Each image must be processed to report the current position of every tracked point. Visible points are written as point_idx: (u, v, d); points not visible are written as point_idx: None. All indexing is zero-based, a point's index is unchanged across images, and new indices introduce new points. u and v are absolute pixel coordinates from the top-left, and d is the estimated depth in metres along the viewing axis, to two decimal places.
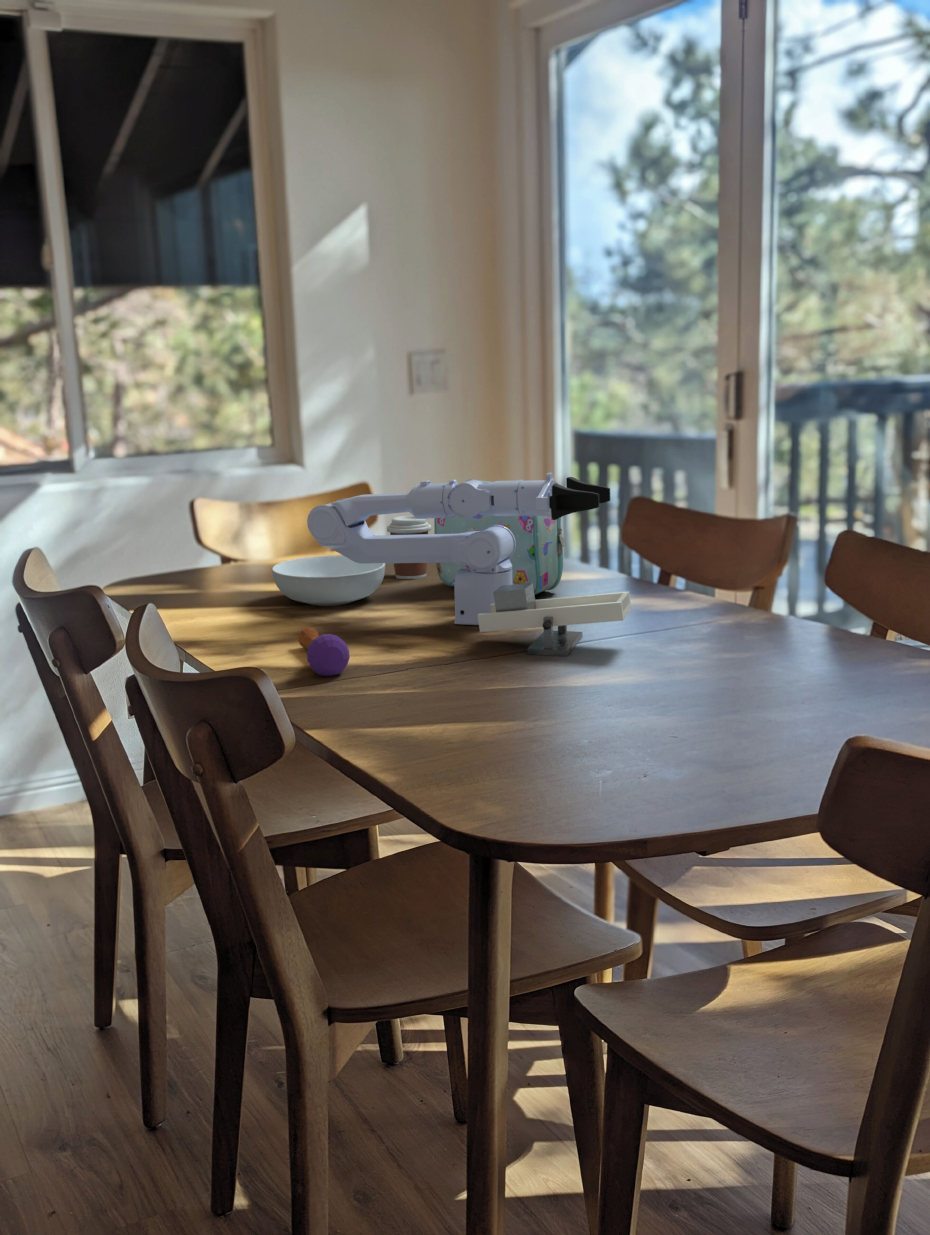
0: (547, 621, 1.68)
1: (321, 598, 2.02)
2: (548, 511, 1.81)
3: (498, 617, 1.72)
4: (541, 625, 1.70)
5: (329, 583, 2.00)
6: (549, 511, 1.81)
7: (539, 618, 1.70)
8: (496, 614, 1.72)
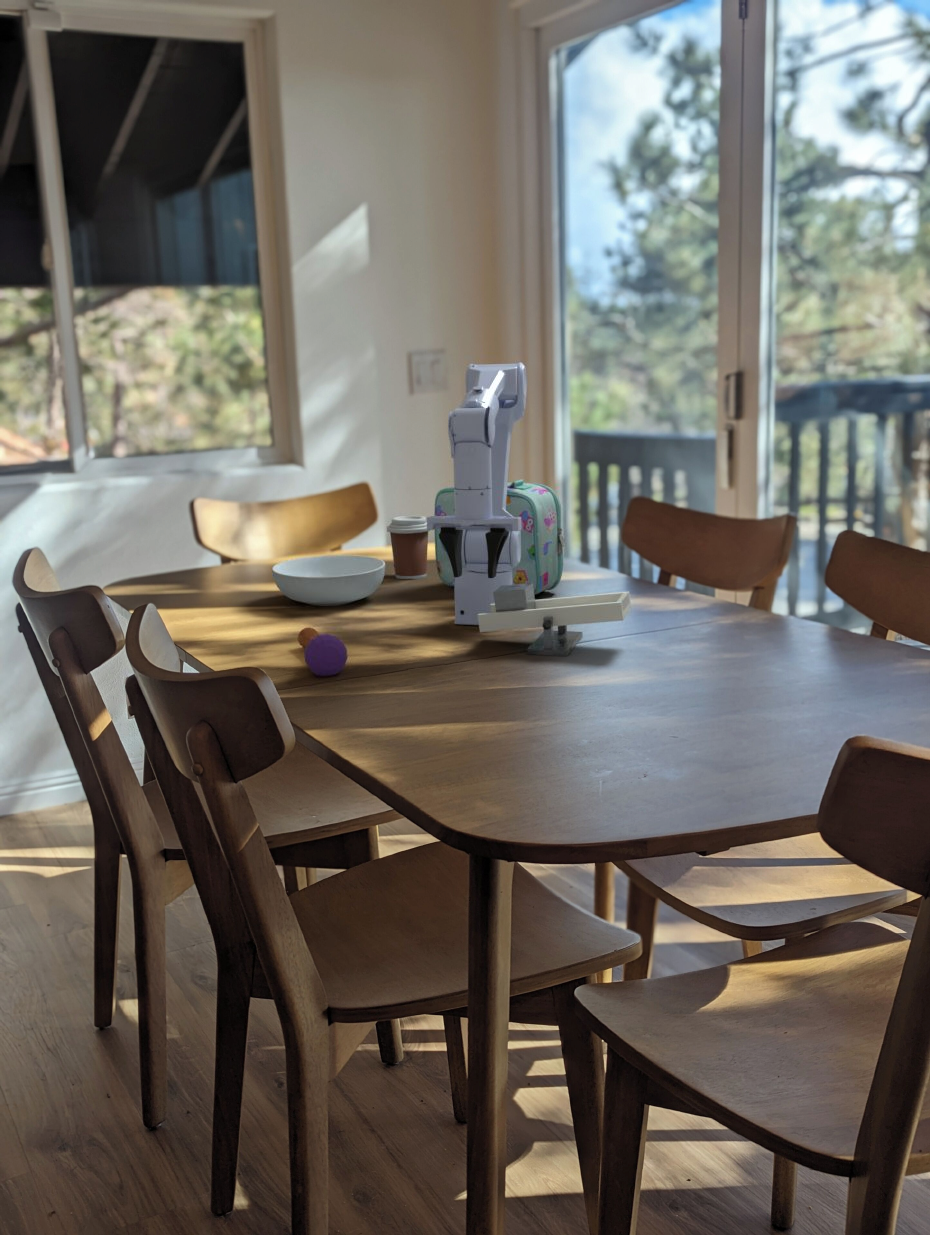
0: (547, 621, 1.68)
1: (321, 598, 2.02)
2: None
3: (498, 617, 1.72)
4: (541, 625, 1.70)
5: (329, 583, 2.00)
6: None
7: (539, 618, 1.70)
8: (496, 614, 1.72)
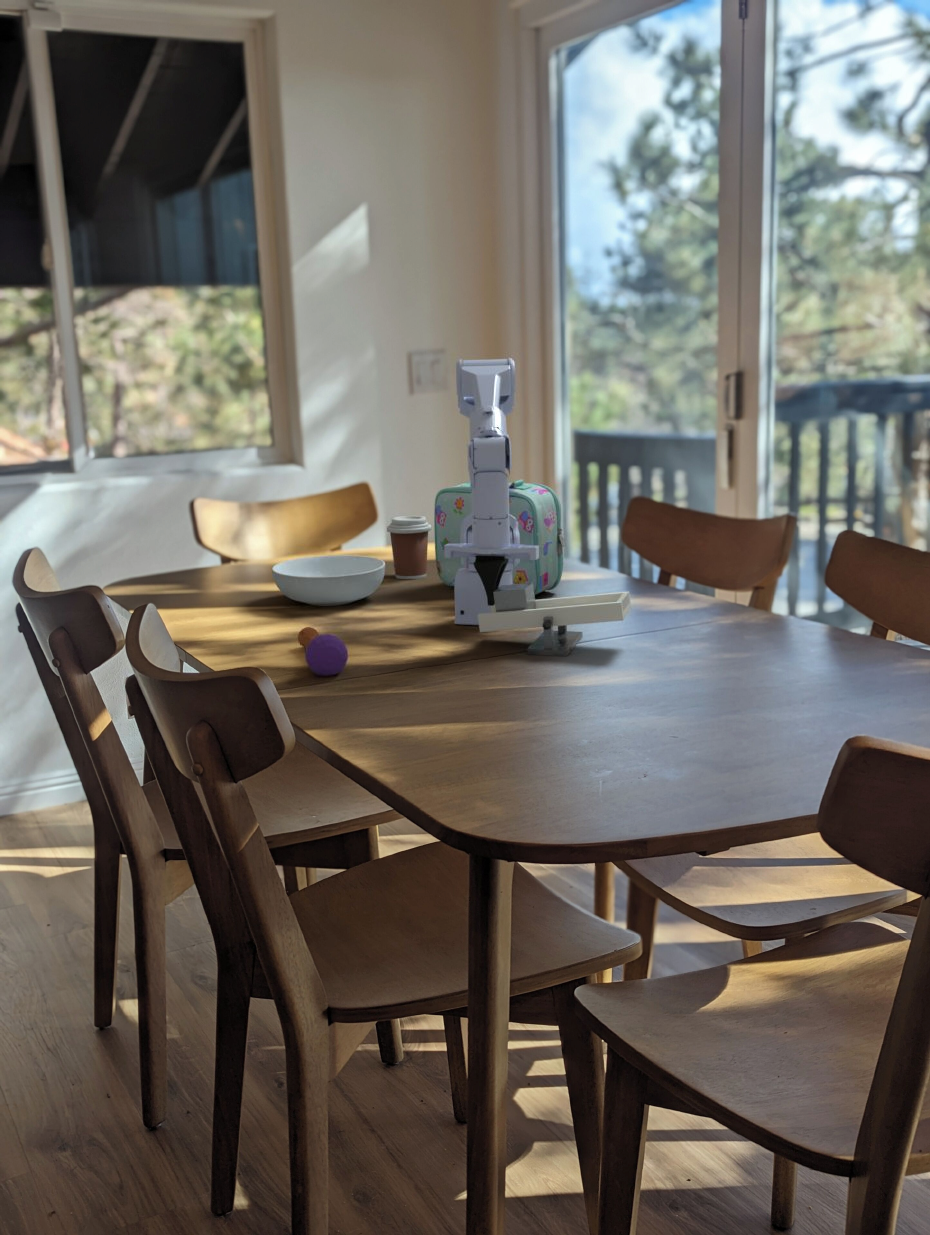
0: (547, 621, 1.68)
1: (321, 598, 2.02)
2: None
3: (498, 617, 1.72)
4: (541, 625, 1.70)
5: (329, 583, 2.00)
6: None
7: (539, 618, 1.70)
8: (496, 614, 1.72)
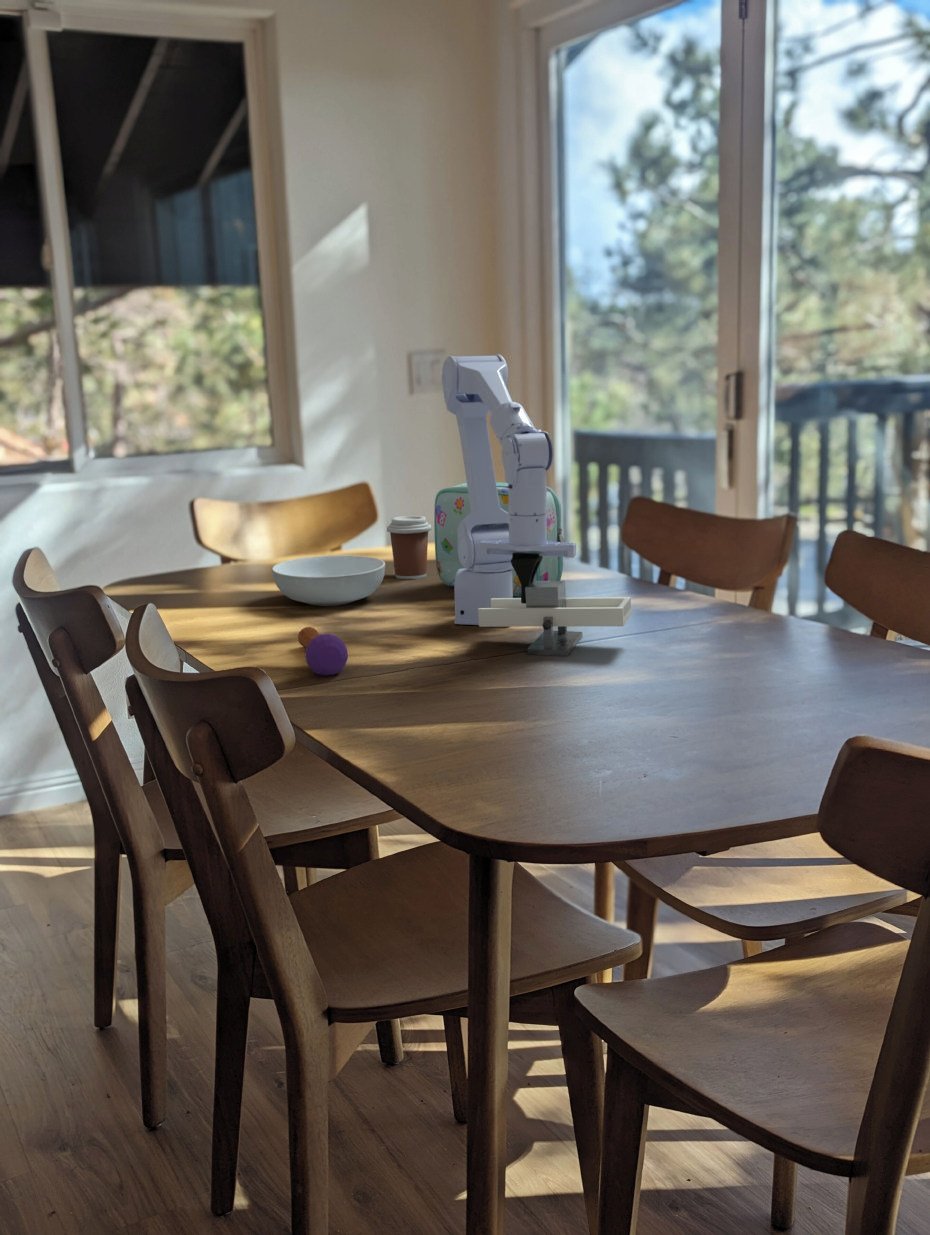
0: (547, 621, 1.68)
1: (321, 598, 2.02)
2: None
3: (499, 613, 1.72)
4: (541, 624, 1.70)
5: (329, 583, 2.00)
6: None
7: (539, 617, 1.70)
8: (497, 610, 1.72)
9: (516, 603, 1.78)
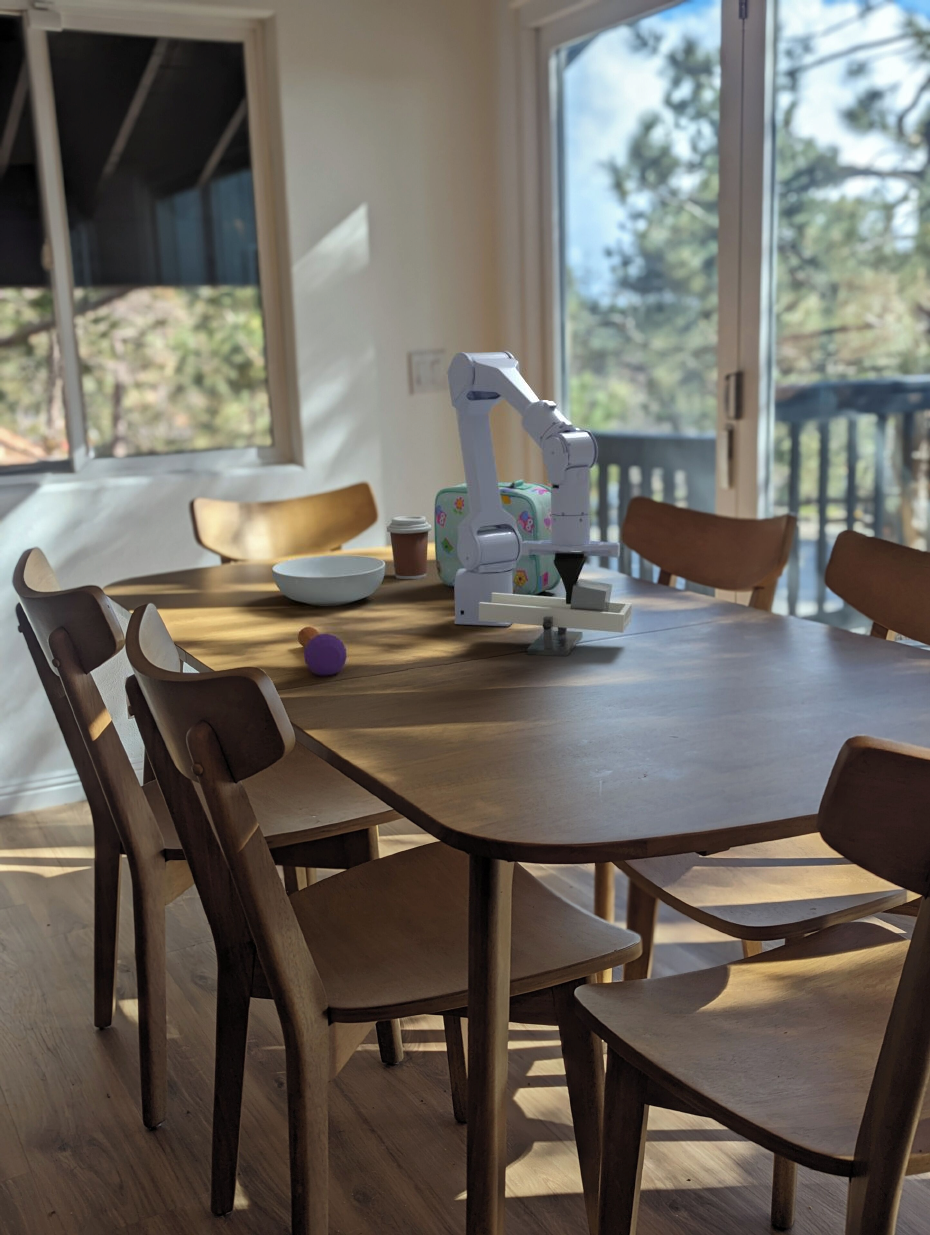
0: (547, 621, 1.68)
1: (321, 598, 2.02)
2: None
3: (499, 609, 1.72)
4: (541, 624, 1.70)
5: (329, 583, 2.00)
6: None
7: (540, 616, 1.70)
8: (498, 605, 1.72)
9: (516, 599, 1.78)
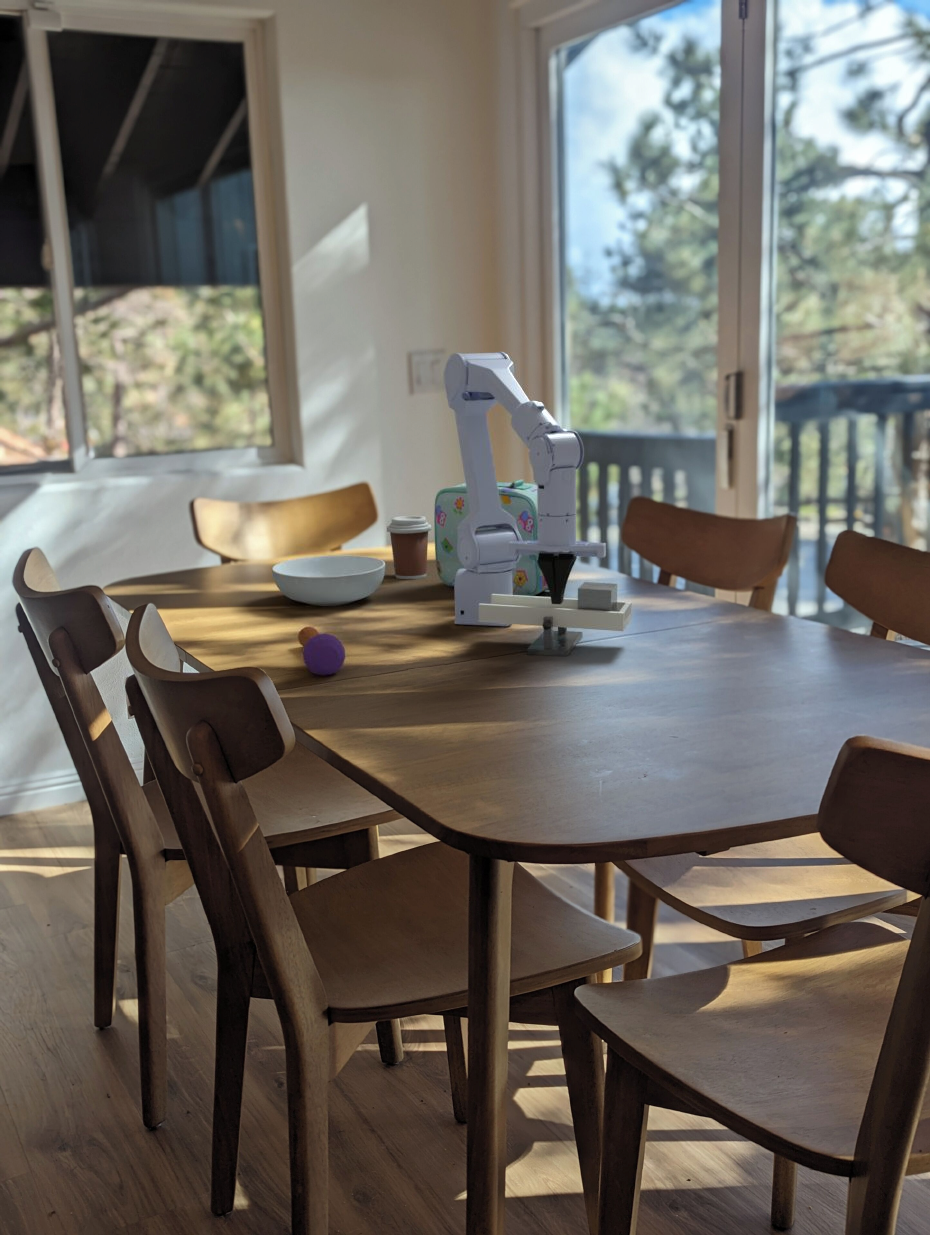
0: (547, 621, 1.68)
1: (321, 598, 2.02)
2: None
3: (499, 610, 1.72)
4: (541, 624, 1.70)
5: (329, 583, 2.00)
6: None
7: (540, 617, 1.70)
8: (497, 606, 1.72)
9: (516, 600, 1.78)
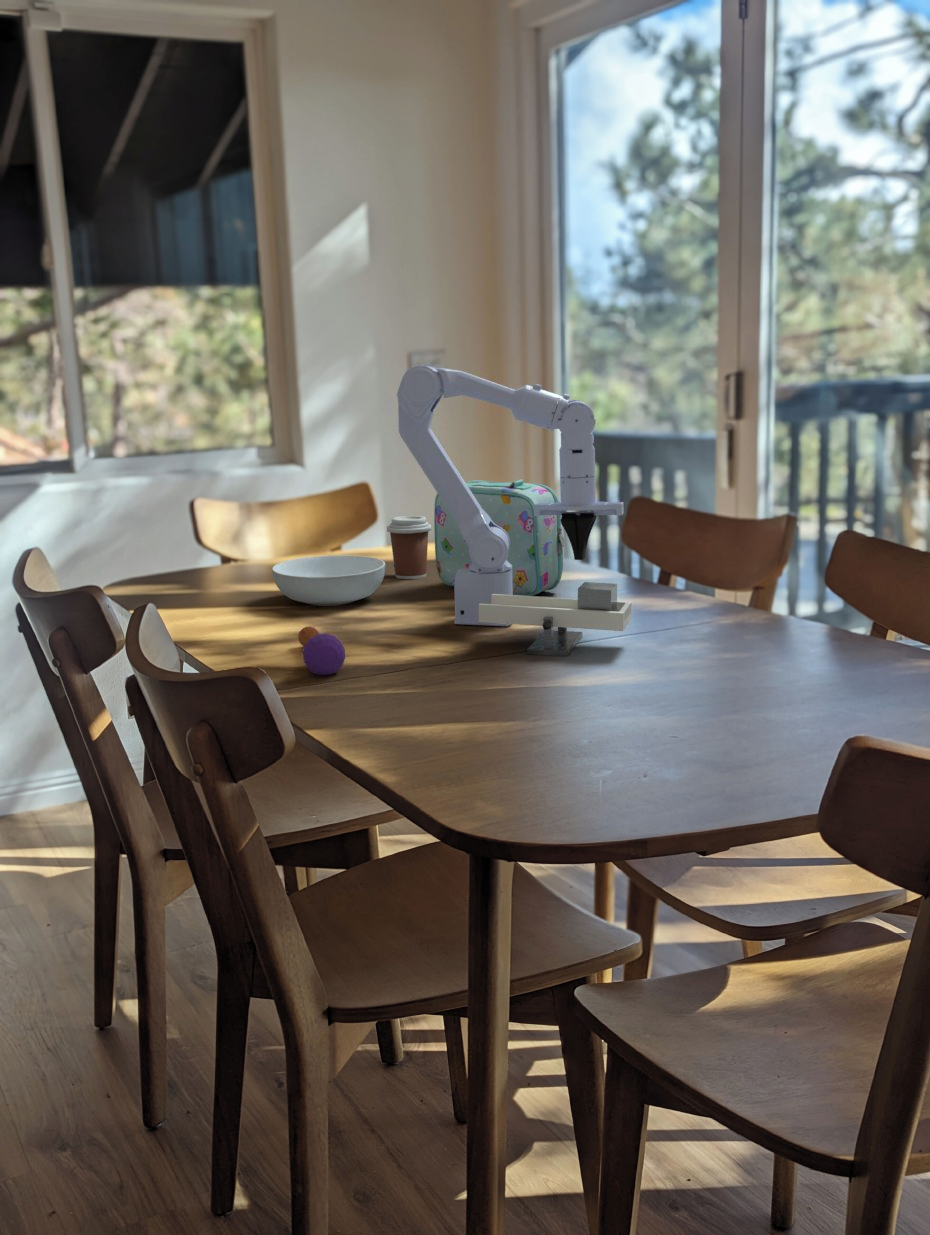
0: (547, 621, 1.68)
1: (321, 598, 2.02)
2: None
3: (499, 610, 1.72)
4: (541, 624, 1.70)
5: (329, 583, 2.00)
6: None
7: (540, 617, 1.70)
8: (497, 606, 1.72)
9: (516, 600, 1.78)
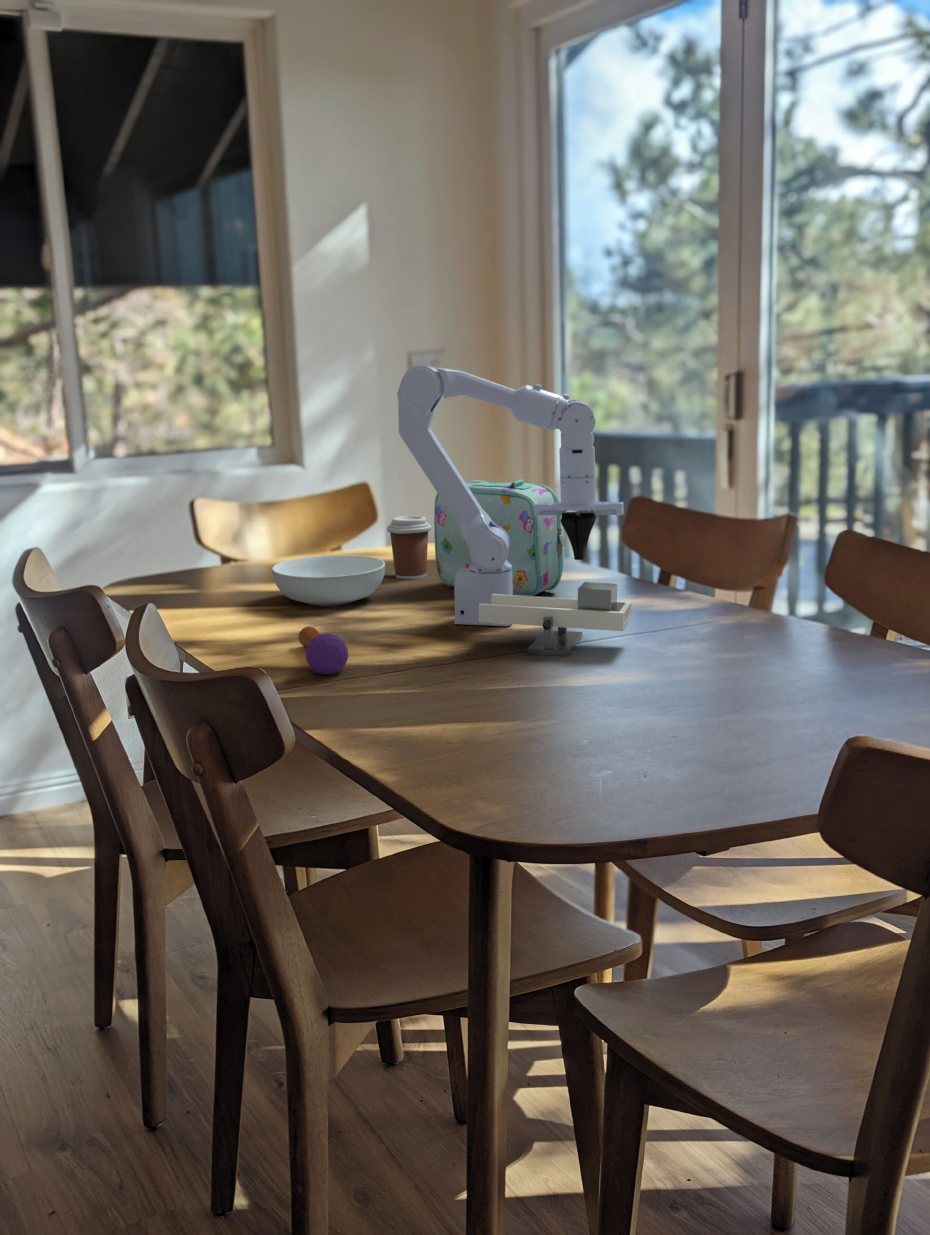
0: (547, 621, 1.68)
1: (321, 598, 2.02)
2: None
3: (499, 610, 1.72)
4: (541, 624, 1.70)
5: (329, 583, 2.00)
6: None
7: (540, 617, 1.70)
8: (497, 606, 1.72)
9: (516, 600, 1.78)
